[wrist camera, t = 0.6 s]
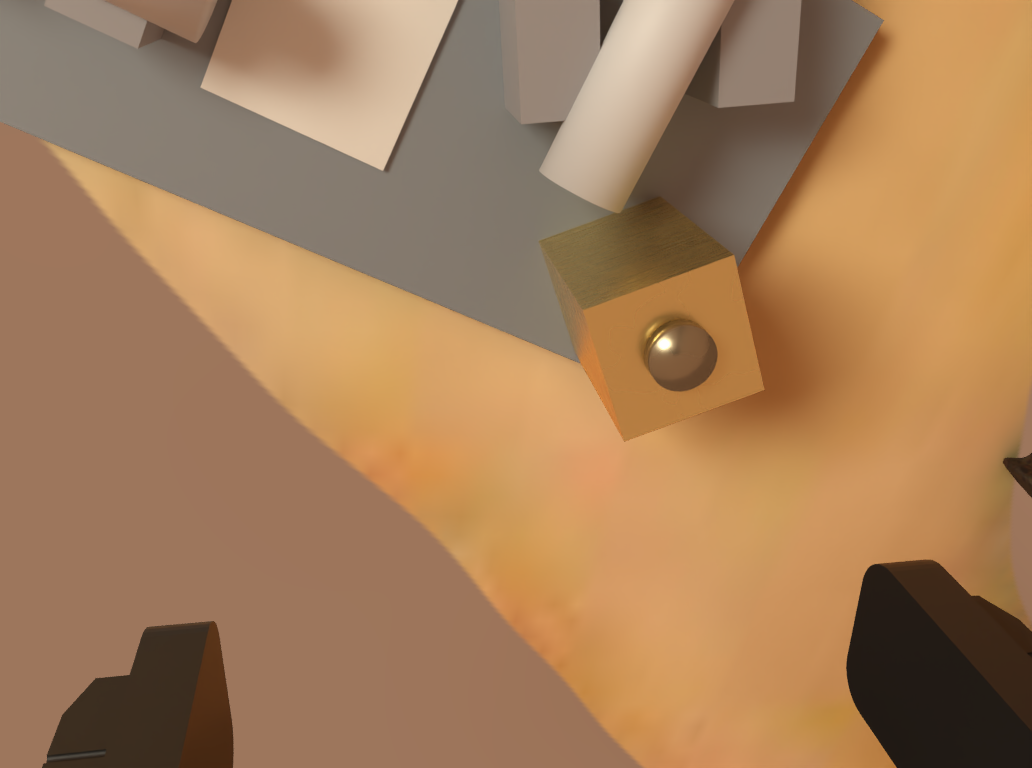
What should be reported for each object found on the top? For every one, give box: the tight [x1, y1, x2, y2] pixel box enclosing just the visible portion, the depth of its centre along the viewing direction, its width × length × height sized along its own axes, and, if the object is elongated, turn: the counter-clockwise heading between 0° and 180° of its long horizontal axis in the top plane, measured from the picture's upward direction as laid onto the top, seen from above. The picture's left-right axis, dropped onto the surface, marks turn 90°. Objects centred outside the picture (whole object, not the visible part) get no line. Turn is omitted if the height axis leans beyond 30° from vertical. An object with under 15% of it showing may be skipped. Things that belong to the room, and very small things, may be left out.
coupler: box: [539, 196, 765, 442], centre depth 30 cm, size 4×4×8 cm
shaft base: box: [0, 0, 884, 363], centre depth 27 cm, size 16×30×6 cm, turn 63°
